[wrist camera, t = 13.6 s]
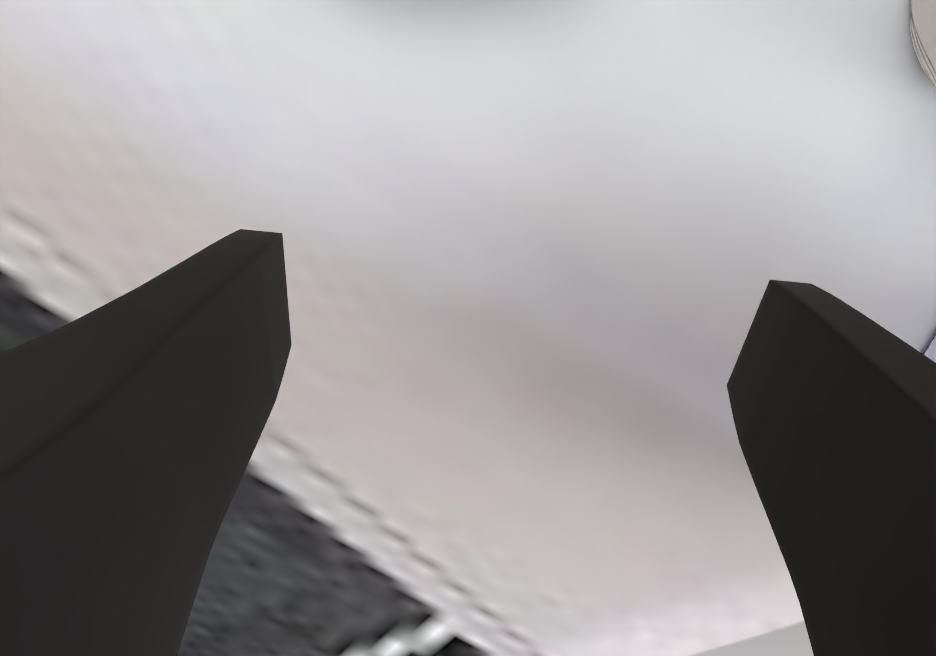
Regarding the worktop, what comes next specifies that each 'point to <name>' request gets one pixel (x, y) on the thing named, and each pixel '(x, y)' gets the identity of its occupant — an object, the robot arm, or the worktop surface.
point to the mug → (924, 35)
